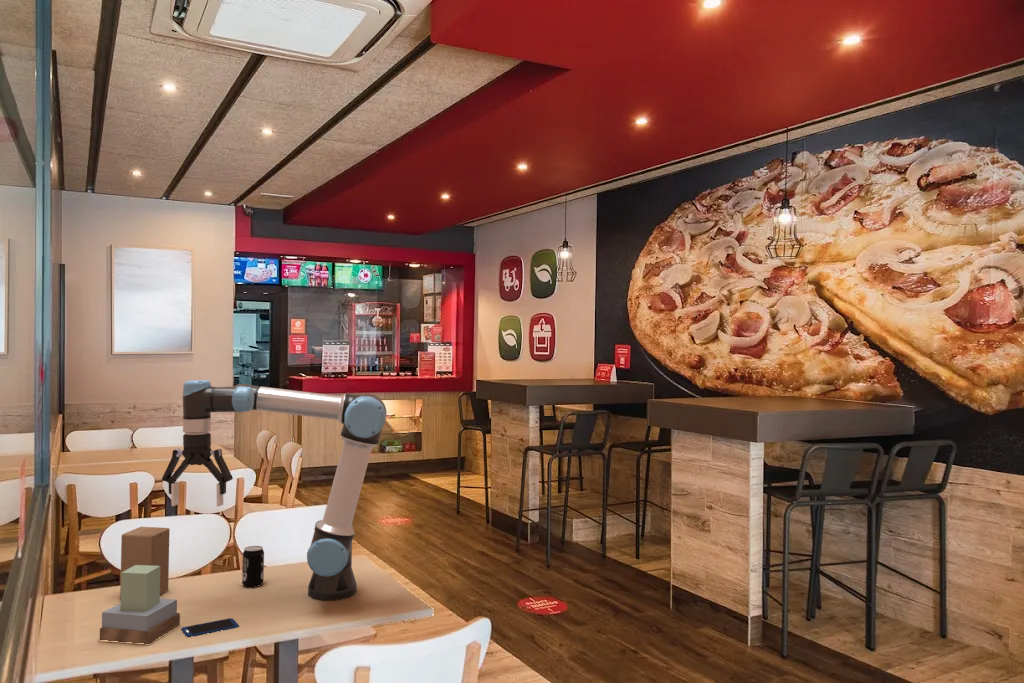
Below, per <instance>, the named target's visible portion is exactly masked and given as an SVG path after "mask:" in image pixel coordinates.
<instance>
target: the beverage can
mask: <svg viewBox="0 0 1024 683" xmlns="http://www.w3.org/2000/svg"><path fill="white" fill-rule="evenodd" d="M263 548H264V547H263V546H261V545H251V546H250V545H249V546H246V547H244V548H243V549H244V550H243V552H242V568H241V569H242V572H241V573H242V574H241V575H242V577H241V580H242V581H241V583H242V585H243V586H244V587H245V586H246V587H245V588H249V587H252V588H255V587H254V586H258V585H260V586H262V585H261V584H264V578H265V576H264V575H265V574H264V571H265V567H264V566H265V551H264V549H263ZM258 587H259V586H258Z"/></svg>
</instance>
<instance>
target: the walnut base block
mask: <svg viewBox="0 0 1024 683" xmlns="http://www.w3.org/2000/svg"><path fill="white" fill-rule="evenodd" d="M180 623H181V612H177V614H176V615H174V616H173V617H171V618H169V619H167V620H166V621H164V622H162V623H160V624H159V625H157V626H155V627H153V628H152V629H150V630H148V631H146V632H145V631H134V630H124V629H113V628H102V627H100V628H99V641H100V640H108V641H118V642H132V643H144V644H150V643H152V642H153V641H155V640H156V639H158V638H159V637H161V636H163V635H164V634H166V633H167V634H169V633H170V632H172V631H173V630H175V629H176V628H178V627H179V626H180V625H181V624H180ZM174 628H175V629H174ZM171 630H172V631H171ZM169 631H170V632H169ZM168 632H169V633H168ZM167 634H166V635H167ZM164 636H165V635H164ZM164 636H163V637H164ZM161 638H162V637H161ZM159 639H160V638H159ZM159 639H158V640H159ZM156 641H157V640H156ZM156 641H155V642H156ZM153 643H154V642H153ZM153 643H152V644H153ZM150 645H151V644H150Z"/></svg>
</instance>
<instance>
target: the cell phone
mask: <svg viewBox="0 0 1024 683" xmlns="http://www.w3.org/2000/svg"><path fill="white" fill-rule="evenodd" d="M237 627H238V628H239V627H240V625H239V623H238V622H237V621H236V620H235V619H234V618H231V617H229V618H224V619H218V620H214V621H213V620H212V621H209V622H203V623H198V624H194V625H188V626H182V627H181V629H180V630H182V631H183V632H182V631H181V632H182V634H183V635H184V634H185V635H184V637H186V636H187V637H186V638H192V637H191V636H194V637H199V636H202V635H203V634H204V635H208V634H207V633H209V634H212V633H213V634H214V633H217V631H218V632H222V631H221V630H223V631H227V630H232V629H237ZM198 635H199V636H198Z"/></svg>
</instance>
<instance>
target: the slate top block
mask: <svg viewBox="0 0 1024 683" xmlns="http://www.w3.org/2000/svg"><path fill="white" fill-rule="evenodd" d="M177 613H178V599H173V598H162V597H160V602H159V603H158V604H156V605H155V606H153V607H152V608H150V609H149V610H147V611H121V610H120V603H118V604H116V605H115V606H112V607H110V608H108V609H106V610H103V611H102V612H101V628H113V629H124V630H134V631H145V632H146V631H148V630H150V629H152V628H153V627H155V626H157V625H159V624H160V623H162V622H164V621H166V620H167V619H169V618H171V617H173V616H174V615H176V614H177Z"/></svg>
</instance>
